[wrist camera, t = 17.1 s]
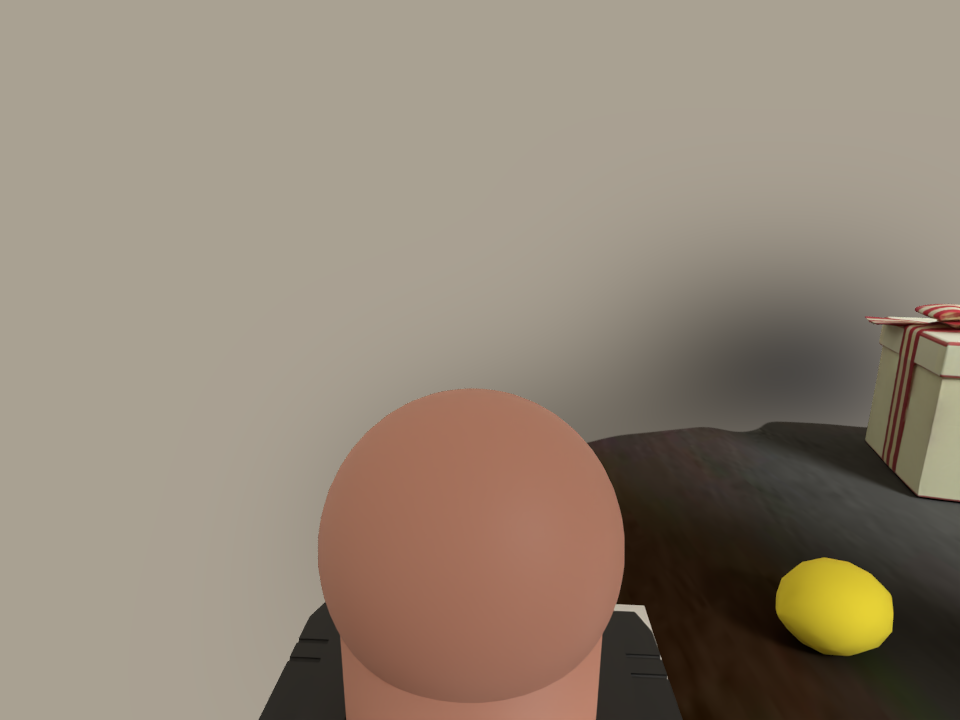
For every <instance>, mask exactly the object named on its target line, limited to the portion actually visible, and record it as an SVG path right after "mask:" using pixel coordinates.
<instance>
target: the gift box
mask: <svg viewBox="0 0 960 720" xmlns="http://www.w3.org/2000/svg"><path fill="white" fill-rule="evenodd" d="M915 311H916V312H919V313H921V314H923V315H925V316H928V317H930V318H907V317H905V318H904V317H885V318H879V317H866V316H865V318H866V319H867V320H868V321H869V322H871V323H873V324H877V325H879V324H883V326H882V330H881V335H880V341H879V343H880V344H881V345H883V348H882V353H881V358H880V364H879V369H878V375H877V381H876V386H875V391H874V396H873V402H872V407H871V412H870V418H869V423H868V427H867V432H866V438H865V441H866V442H867V443H868V444H869V446H870V447H871V448H872V449H873V450H874V451H875V452H876V453H877V454H878V455H879V456H880V457H881V459H882V460H883V461H884V462H885V463H886V464H887V465H888V466H889V468H891V469H892V470H893V472H895V474H897V475H898V477H899V478H900V479H901V480H902V481H903V482H904V483H905V484H906V485H907V486H908V487H909V488H910V489H911V490H912V491H913V492H914V493H915V494H916V495H917V496H919V497H925V498H933V499H942V500H948V501H956V502H960V305H955V304H934V305H924V306H919V307H917V308H915ZM931 318H933V319H931Z"/></svg>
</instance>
